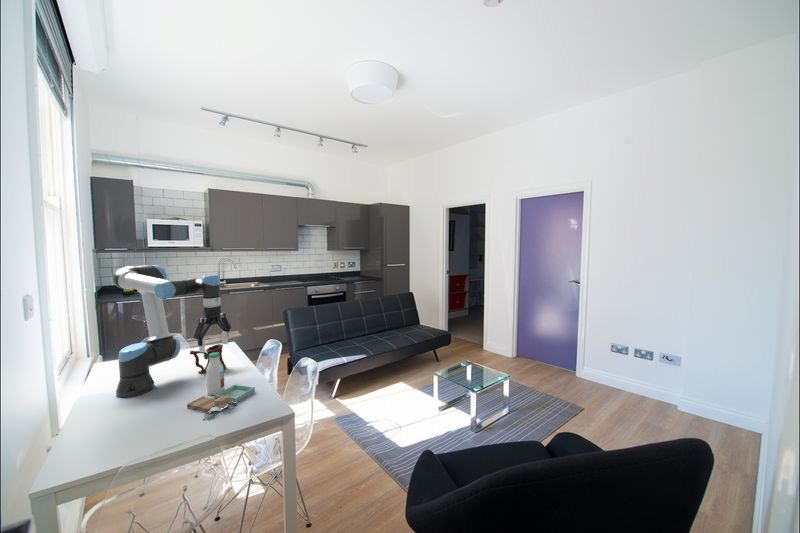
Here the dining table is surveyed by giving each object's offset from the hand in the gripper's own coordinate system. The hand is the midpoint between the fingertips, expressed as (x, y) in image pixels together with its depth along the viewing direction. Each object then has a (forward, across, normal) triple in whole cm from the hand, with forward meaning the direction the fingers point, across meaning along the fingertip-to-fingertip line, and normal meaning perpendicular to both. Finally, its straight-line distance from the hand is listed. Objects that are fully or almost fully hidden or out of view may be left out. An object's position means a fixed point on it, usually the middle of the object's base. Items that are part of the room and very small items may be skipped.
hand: (214, 347), depth 159 cm
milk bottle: (+23, 0, 0) cm, 23 cm away
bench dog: (+23, -13, -17) cm, 31 cm away
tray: (+23, -1, -13) cm, 26 cm away
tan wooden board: (+24, -13, -8) cm, 28 cm away
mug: (+23, +20, +26) cm, 40 cm away
